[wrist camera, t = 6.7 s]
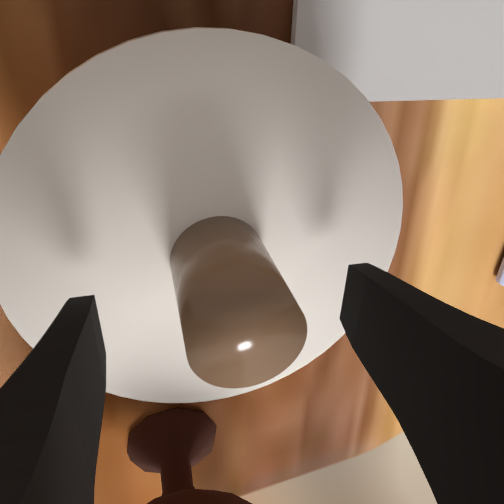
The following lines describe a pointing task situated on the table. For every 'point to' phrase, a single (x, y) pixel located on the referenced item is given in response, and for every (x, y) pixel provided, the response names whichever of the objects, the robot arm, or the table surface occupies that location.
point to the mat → (408, 45)
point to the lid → (197, 209)
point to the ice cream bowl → (177, 455)
